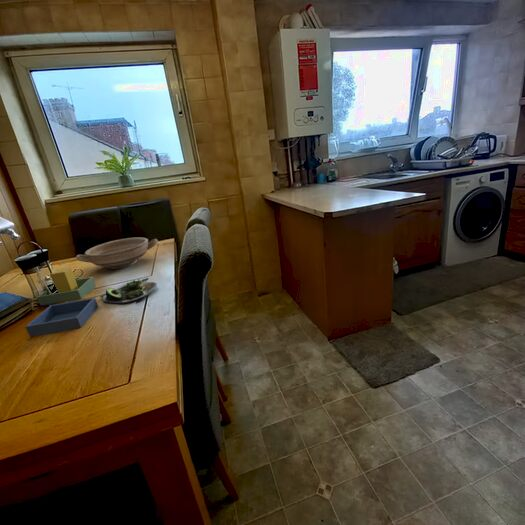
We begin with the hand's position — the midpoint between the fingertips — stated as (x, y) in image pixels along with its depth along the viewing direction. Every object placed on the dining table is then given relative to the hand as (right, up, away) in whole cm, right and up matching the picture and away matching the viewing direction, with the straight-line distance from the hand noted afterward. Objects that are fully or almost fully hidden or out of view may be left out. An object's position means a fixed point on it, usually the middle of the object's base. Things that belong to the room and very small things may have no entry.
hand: (9, 241), depth 99 cm
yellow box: (+15, -20, +10) cm, 27 cm away
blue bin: (+29, -27, -11) cm, 40 cm away
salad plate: (+42, -20, +3) cm, 46 cm away
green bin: (+15, -21, +10) cm, 27 cm away
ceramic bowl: (+20, -8, +42) cm, 47 cm away
